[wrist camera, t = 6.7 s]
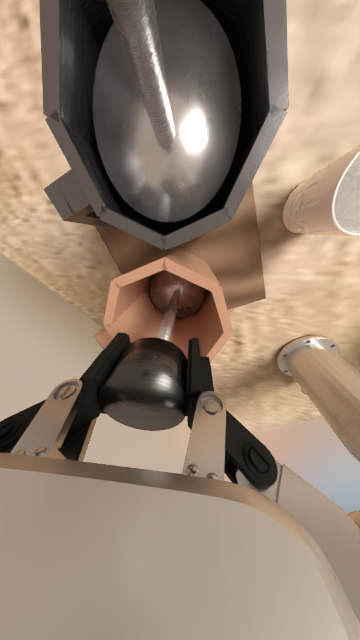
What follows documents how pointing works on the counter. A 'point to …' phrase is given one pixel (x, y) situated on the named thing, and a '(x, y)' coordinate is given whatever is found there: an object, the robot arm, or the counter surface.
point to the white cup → (327, 200)
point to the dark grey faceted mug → (78, 126)
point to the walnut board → (207, 253)
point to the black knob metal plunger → (154, 364)
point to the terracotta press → (145, 318)
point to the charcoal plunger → (166, 106)
